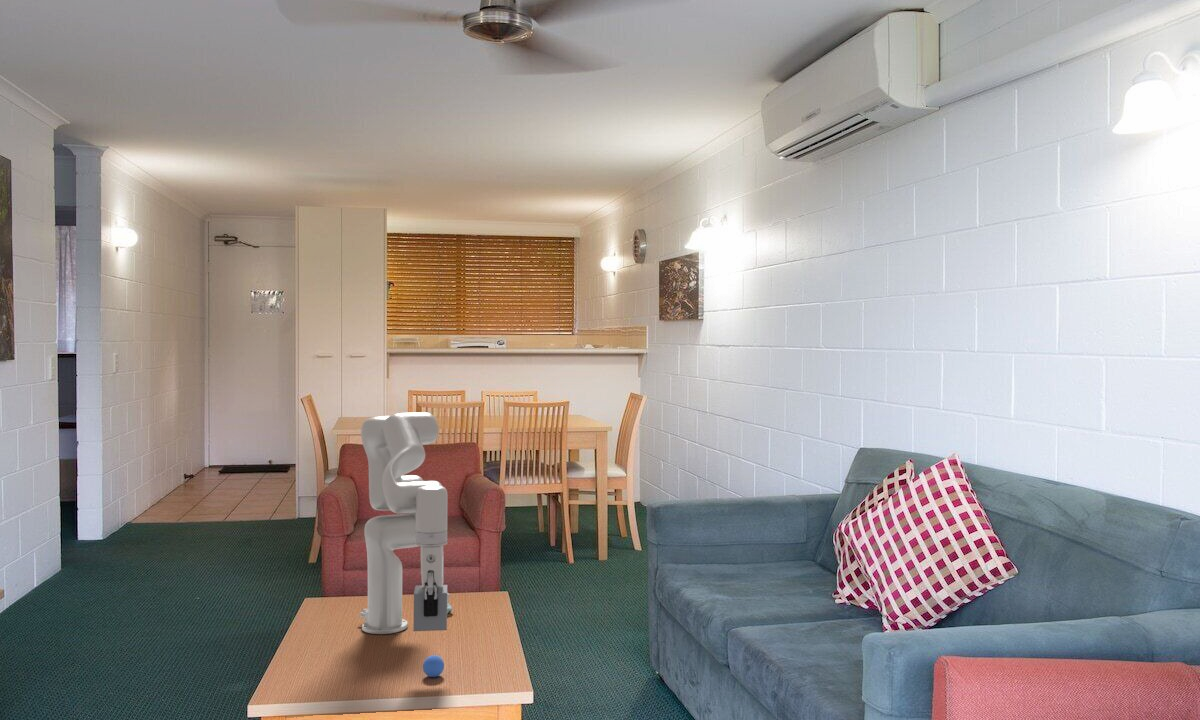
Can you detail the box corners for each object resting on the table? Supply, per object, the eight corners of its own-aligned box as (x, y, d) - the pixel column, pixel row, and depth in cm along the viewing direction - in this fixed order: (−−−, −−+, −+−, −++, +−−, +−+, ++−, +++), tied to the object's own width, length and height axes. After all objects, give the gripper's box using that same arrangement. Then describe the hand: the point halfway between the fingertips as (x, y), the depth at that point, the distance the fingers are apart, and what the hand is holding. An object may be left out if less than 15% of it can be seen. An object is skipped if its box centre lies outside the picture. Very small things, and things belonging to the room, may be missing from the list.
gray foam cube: (413, 631, 217) (413, 593, 216) (414, 621, 224) (415, 585, 224) (446, 630, 218) (447, 593, 218) (447, 620, 225) (447, 584, 225)
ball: (451, 665, 221) (440, 683, 221) (441, 653, 225) (430, 670, 224) (436, 661, 218) (425, 679, 217) (427, 649, 221) (415, 666, 221)
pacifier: (433, 618, 270) (454, 615, 272) (432, 596, 270) (453, 594, 272) (430, 611, 277) (450, 609, 279) (429, 590, 277) (449, 588, 279)
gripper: (446, 545, 213) (446, 621, 213) (447, 530, 230) (447, 600, 230) (413, 545, 212) (413, 622, 212) (417, 531, 229) (416, 601, 229)
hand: (431, 610), depth 221 cm, fingers closed on gray foam cube, 7 cm apart
